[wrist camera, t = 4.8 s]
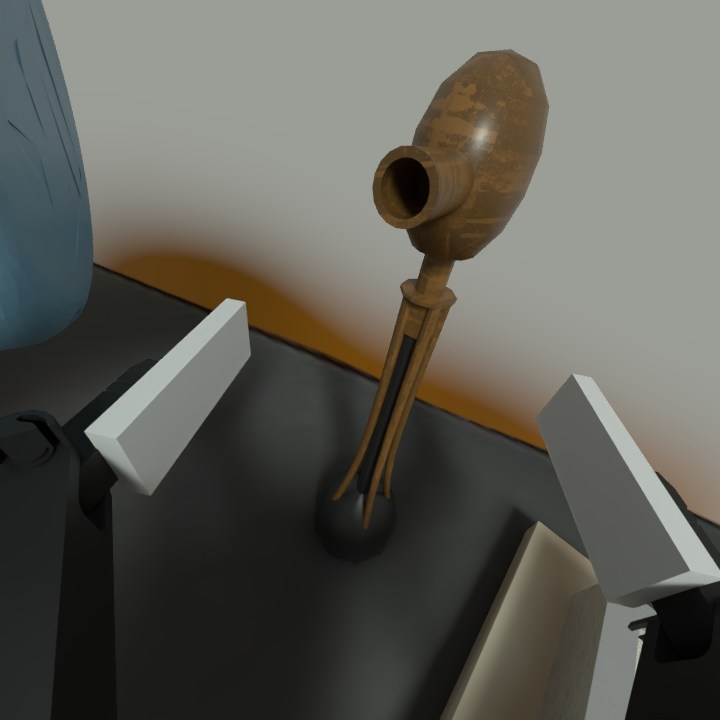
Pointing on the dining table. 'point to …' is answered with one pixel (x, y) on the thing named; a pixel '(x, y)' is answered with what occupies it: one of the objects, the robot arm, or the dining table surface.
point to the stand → (521, 632)
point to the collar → (594, 660)
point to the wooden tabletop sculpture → (436, 259)
